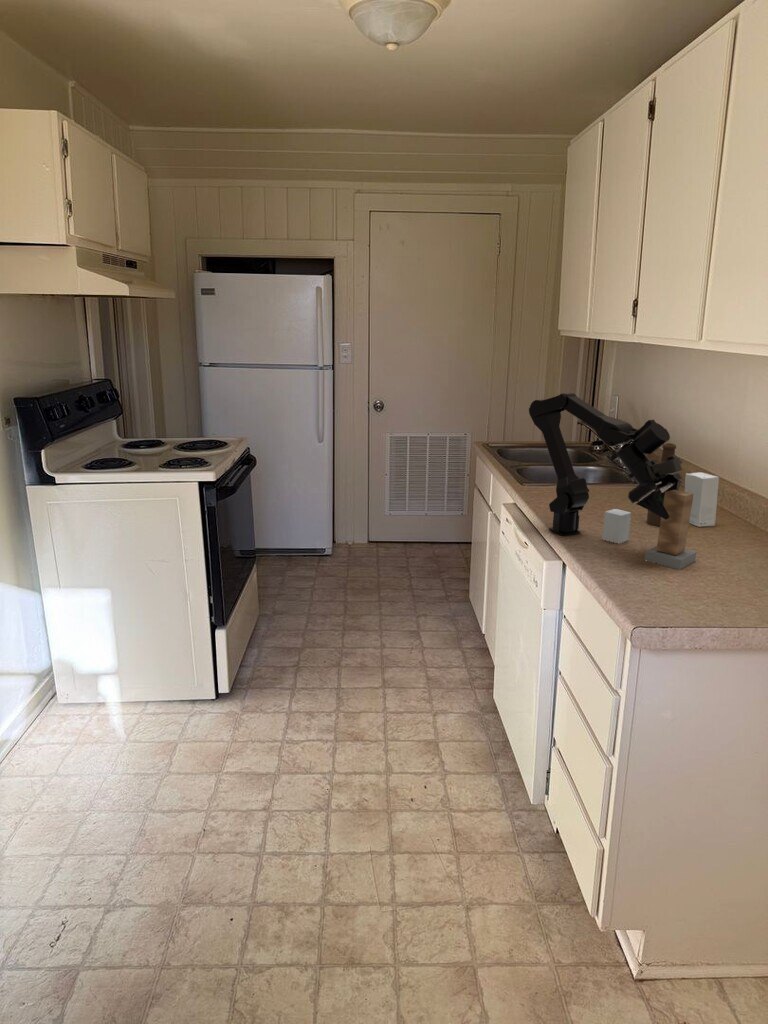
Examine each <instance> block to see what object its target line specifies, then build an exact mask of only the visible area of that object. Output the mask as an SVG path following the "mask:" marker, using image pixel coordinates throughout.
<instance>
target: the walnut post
mask: <svg viewBox="0 0 768 1024" xmlns="http://www.w3.org/2000/svg"><path fill="white" fill-rule="evenodd" d="M692 501H693V493H688V492H684V491H683V490H682V491H681V490H679V491H677V490H671V491H667V492H665V496H664V503H663V506H664V507H665V509H666V511H667V513H668V515H669V518H668V519H666V520H665V519H664V518H662V517H661V523H660V527H659V529H658V537H657V543H656V546H657V549H656V550H657V551H661V552H665V553H669V554H673V555H678V554H680V553H683V552H684V551H685V549H686V544H687V537H688V531H689V525H690V523H689V519H690V513H691V507H692Z"/></svg>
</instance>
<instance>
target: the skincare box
mask: <svg viewBox="0 0 768 1024" xmlns="http://www.w3.org/2000/svg"><path fill="white" fill-rule="evenodd" d="M719 481H720V476H716V475H713V474H710V473H706V472H702V471H701V472H689V473H688V472H687V473H685V480H684V489H683V490H684V491H683V492H688V493H693V501H692V507H691V513H690V519H689V524H691V525H692V526H696V527H698V528H701V527H715V526H716V517H717V507H718V506H717V505H718V504H717V503H718V494H719V493H718V492H719Z"/></svg>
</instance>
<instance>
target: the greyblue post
mask: <svg viewBox="0 0 768 1024" xmlns="http://www.w3.org/2000/svg"><path fill="white" fill-rule="evenodd" d="M603 517H604V520H603V529H602V538H601V540H602V539H603V540H602V541H605V540H606V541H605V542H609V541H610V543H613V542H614V543H613V544H616V543H618V544H617V545H620V544H622V542H623V543H625V541H626V542H628V541H629V539H630V530H631V518H632V512H631V511H626V510H621V509H618V508H613V509H610V510H606V511H604V516H603ZM619 543H620V544H619Z"/></svg>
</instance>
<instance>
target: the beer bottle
mask: <svg viewBox="0 0 768 1024" xmlns="http://www.w3.org/2000/svg"><path fill="white" fill-rule="evenodd" d="M661 448H662V451H661V452H662V453H661V458H660V463H662V462H666V459H667V457H669V456H673V455H676V454H675V453H676V452H675V451H676V449H677V445H676V444H674V443H669V442H668V443H667V442H666V443H664V444H663V445H662V446H661ZM667 474H669V473H667ZM660 494H662V493H659V495H660ZM659 499H660V501H661V502H662V504H663V503H664V499H663V498H662V497H660V496H659ZM646 515H647V516H646V522H647V523H648V524H649V525H650V526H654V527H658V528H660V523H661V517H660V516H658V515H657V514H655V513H653V512H651V511H649V510H647V513H646Z"/></svg>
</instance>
